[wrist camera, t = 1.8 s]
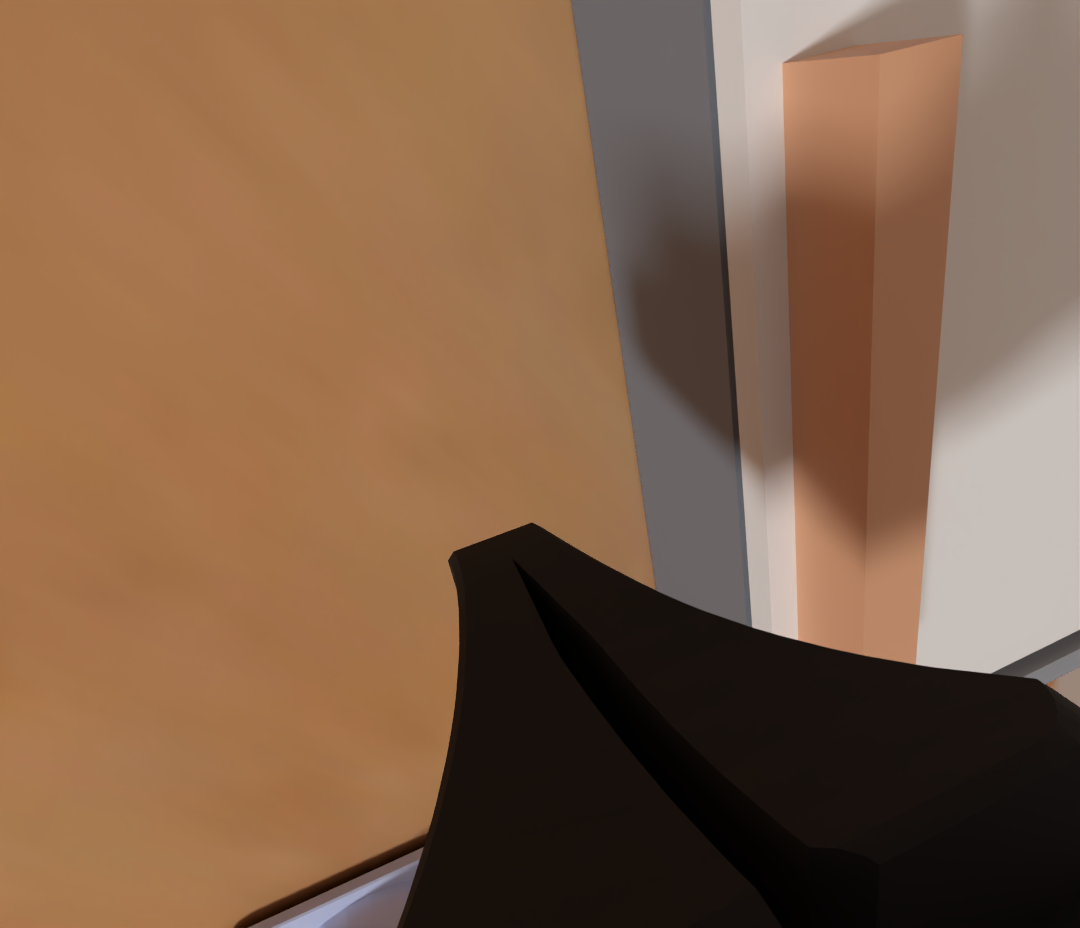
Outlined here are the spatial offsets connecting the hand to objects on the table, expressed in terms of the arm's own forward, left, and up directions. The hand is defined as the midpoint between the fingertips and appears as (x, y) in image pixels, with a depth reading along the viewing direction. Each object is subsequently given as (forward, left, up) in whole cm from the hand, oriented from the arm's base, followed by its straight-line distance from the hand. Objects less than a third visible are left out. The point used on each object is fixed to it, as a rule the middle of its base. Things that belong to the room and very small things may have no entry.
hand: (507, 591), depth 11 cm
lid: (0, -11, -1) cm, 11 cm away
